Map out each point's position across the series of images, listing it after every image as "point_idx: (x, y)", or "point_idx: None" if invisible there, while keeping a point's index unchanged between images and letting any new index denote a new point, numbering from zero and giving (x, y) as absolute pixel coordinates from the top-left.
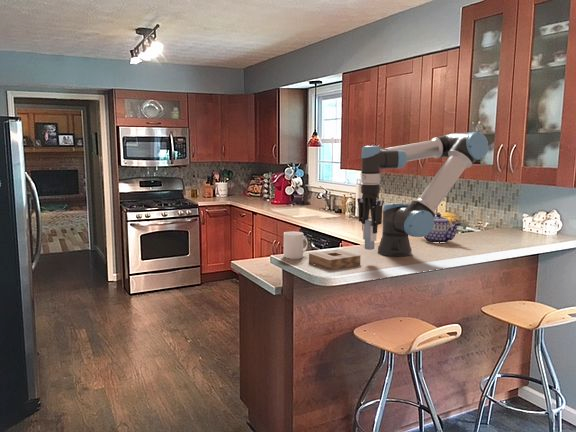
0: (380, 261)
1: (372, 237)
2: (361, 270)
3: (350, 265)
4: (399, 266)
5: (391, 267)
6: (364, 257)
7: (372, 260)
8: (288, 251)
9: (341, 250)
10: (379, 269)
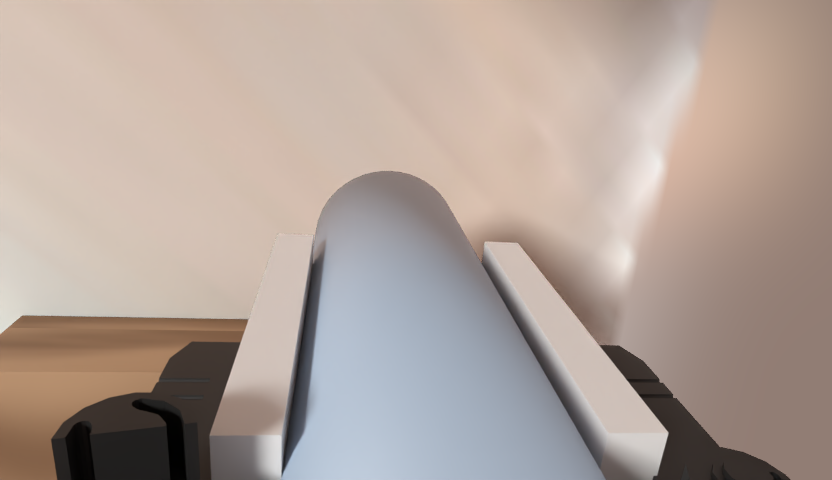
0: (400, 20)
1: None
2: None
3: None
4: (678, 30)
5: (644, 138)
6: (125, 19)
7: (309, 62)
8: None
9: (45, 387)
10: (610, 289)
